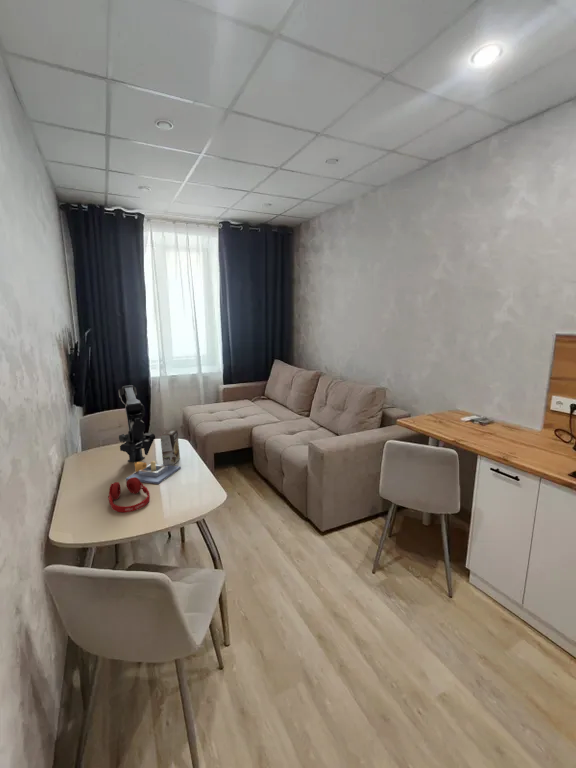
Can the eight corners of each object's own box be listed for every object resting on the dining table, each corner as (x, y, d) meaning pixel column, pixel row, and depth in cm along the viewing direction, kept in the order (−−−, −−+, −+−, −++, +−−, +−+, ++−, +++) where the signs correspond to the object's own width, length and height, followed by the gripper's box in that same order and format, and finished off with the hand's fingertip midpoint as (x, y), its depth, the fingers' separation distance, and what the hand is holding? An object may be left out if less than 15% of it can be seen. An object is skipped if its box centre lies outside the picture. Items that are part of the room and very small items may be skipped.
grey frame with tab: (167, 469, 180) (167, 461, 179) (157, 476, 172) (156, 468, 172) (142, 467, 185) (141, 459, 184) (131, 473, 177) (130, 466, 176)
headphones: (105, 496, 156) (116, 522, 141) (103, 482, 154) (114, 506, 139) (141, 486, 165) (155, 509, 149) (139, 472, 163) (154, 494, 147)
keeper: (150, 465, 189) (149, 453, 188) (180, 468, 184) (179, 455, 182) (126, 480, 172) (124, 467, 171) (158, 484, 167) (156, 470, 166)
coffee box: (175, 464, 189) (172, 434, 186) (162, 465, 189) (159, 435, 186) (180, 458, 198) (177, 429, 195) (168, 458, 198) (165, 429, 195)
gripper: (135, 421, 187) (139, 450, 190) (108, 433, 170) (112, 464, 172) (154, 422, 184) (157, 452, 187) (128, 434, 166) (132, 466, 169)
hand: (140, 458), depth 179 cm, fingers open, 9 cm apart
